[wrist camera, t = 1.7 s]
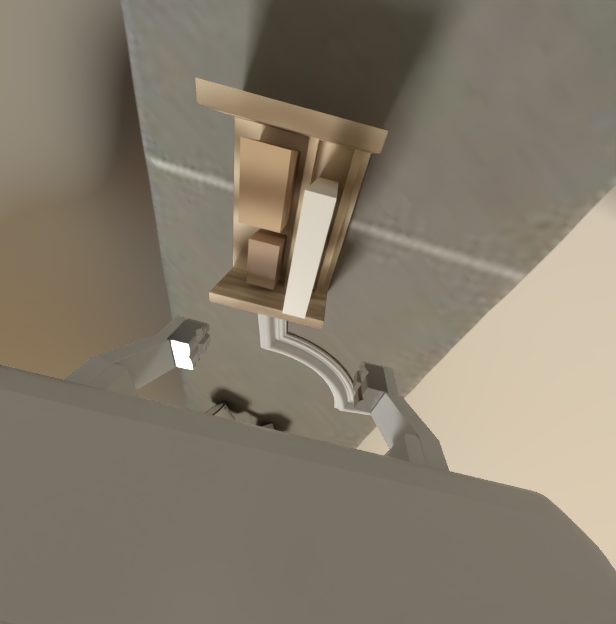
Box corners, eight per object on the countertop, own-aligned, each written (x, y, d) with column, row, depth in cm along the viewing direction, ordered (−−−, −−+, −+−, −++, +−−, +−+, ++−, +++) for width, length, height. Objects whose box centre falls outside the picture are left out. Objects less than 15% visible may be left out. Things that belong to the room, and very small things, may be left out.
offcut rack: (240, 101, 25) (195, 77, 17) (374, 138, 25) (388, 131, 18) (236, 272, 38) (209, 301, 30) (325, 294, 38) (321, 329, 31)
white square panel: (319, 177, 27) (304, 189, 17) (338, 182, 27) (336, 198, 17) (300, 264, 34) (282, 313, 24) (316, 268, 34) (304, 318, 24)
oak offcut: (259, 140, 26) (240, 136, 21) (300, 151, 26) (291, 150, 21) (254, 211, 30) (238, 222, 26) (289, 221, 31) (279, 233, 26)
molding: (392, 405, 55) (394, 416, 53) (352, 418, 61) (352, 428, 59) (272, 288, 40) (268, 296, 37) (233, 320, 45) (227, 329, 43)
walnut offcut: (260, 228, 32) (248, 238, 28) (287, 235, 32) (279, 246, 28) (257, 268, 35) (246, 282, 31) (281, 274, 36) (273, 289, 31)
